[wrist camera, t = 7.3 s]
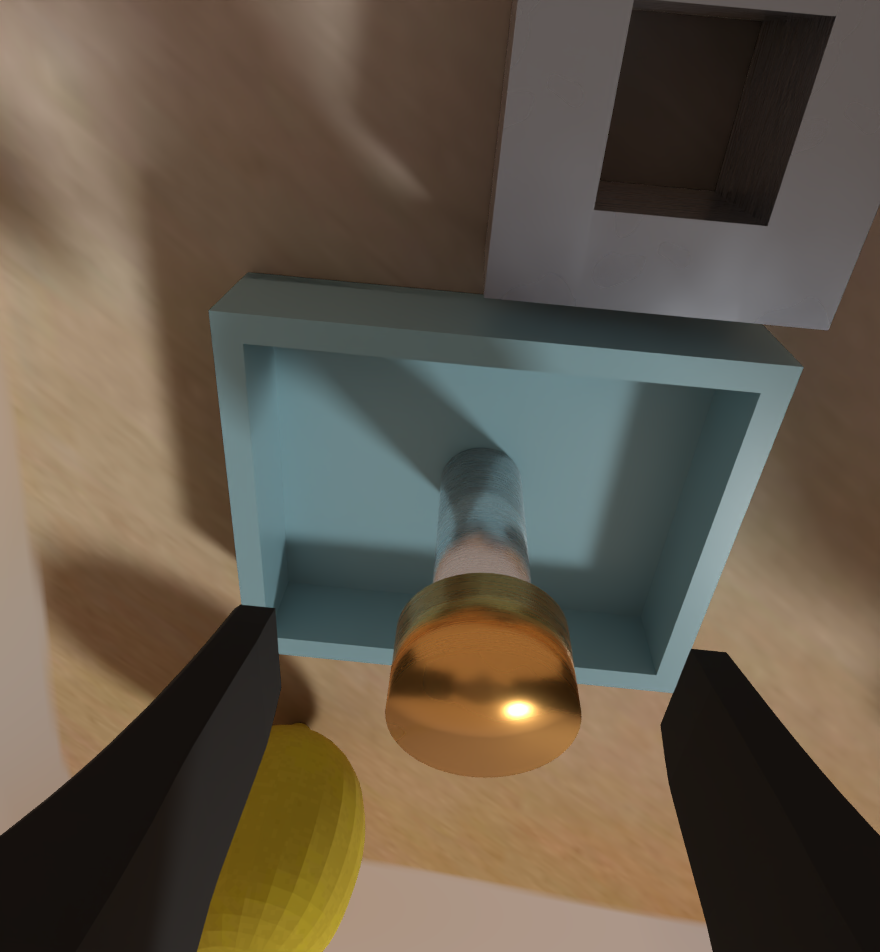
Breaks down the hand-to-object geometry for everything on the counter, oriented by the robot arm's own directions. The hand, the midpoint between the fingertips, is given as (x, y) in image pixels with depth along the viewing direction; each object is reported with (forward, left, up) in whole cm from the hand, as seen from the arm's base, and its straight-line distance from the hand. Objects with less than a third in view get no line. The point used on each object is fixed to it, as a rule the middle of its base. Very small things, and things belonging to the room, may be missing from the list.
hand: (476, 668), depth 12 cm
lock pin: (0, 0, -6) cm, 6 cm away
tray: (0, 0, -6) cm, 6 cm away
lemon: (-11, +5, -7) cm, 14 cm away
